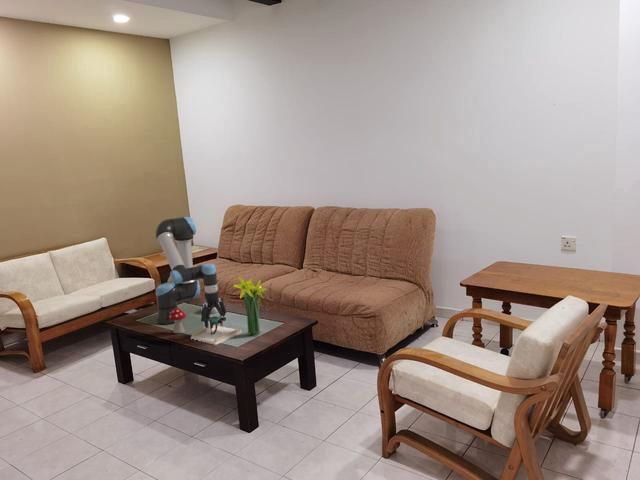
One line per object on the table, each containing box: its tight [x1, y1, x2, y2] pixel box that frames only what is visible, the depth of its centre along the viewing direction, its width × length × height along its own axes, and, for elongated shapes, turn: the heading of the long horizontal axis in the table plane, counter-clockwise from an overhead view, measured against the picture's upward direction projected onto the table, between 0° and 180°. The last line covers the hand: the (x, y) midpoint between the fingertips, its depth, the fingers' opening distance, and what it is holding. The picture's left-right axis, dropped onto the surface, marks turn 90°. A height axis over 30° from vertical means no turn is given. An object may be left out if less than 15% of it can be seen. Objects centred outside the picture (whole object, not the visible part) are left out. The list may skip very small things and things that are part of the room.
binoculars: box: [208, 316, 227, 334], centre depth 288 cm, size 9×11×10 cm
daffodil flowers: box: [232, 276, 268, 336], centre depth 285 cm, size 17×15×35 cm
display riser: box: [190, 325, 242, 346], centre depth 289 cm, size 20×20×3 cm
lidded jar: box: [204, 300, 219, 314], centre depth 335 cm, size 11×11×9 cm
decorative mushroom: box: [169, 308, 187, 334], centre depth 297 cm, size 10×9×15 cm
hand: (215, 329), depth 288 cm, fingers closed on binoculars, 10 cm apart
